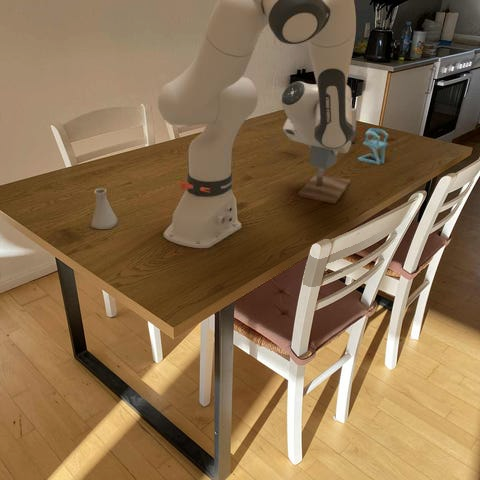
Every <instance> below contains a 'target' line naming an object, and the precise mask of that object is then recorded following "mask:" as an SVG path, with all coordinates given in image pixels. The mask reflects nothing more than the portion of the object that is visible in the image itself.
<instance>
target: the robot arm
mask: <svg viewBox="0 0 480 480" xmlns="http://www.w3.org/2000/svg"><path fill="white" fill-rule="evenodd" d="M356 13H357V12H356V5H355V0H216V3H215V5H214V7H213V9H212V12H211V14H210V17H209V20H208V23H207V25H206V29H205V32H204V35H203V39H202V42H201V44H200V47H199V50H198V53H197V54H196V56H195V58H194V60H193V61H192V62H191V64H190V65H189V66H188V67H187V68H186V69H185V70H184V71H183V72H182V73H181V74H180V75H178V76H177V77H176V78H175V79H173V80H171V81H169V82H168V83H166V84H164V85H163V86H162V88H161V89H160V91H159V94H158V99H157V106H158V111H159V113H160V115H161V117H162V118H163V120H164V121H165V122H166V123H168V124H169V125H172V126H179V127H180V126H181V127H192V126H193V127H194V126H201V125H206V126H205V127H204V129H203V130H202V132H201V133H200V134H199V135H197V136H196V137H195V138H193V140H192V141H191V142H190V145H189V146H188V170H189V171H188V173H187V177H186V180H185V181H181V183H180V189H181V190H185V191H184V193H183V194H182V197H181V198H180V201H179V202H178V204H177V206H176V208H175V210H173V211H174V212H173V214H172V222H171V224H169V226H168V227H167V228H166V229H165V230H164V232H163V238H165V239H166V240H167V241H170V242H171V243H174V244H177V245H180V246H184V247H188V248H193V249H208V248H212V247H213V246H215V244H218V243H219V242H221V241H223V240H224V239H225V238H227V237H229V236H230V235H233V234H234V233H236V232H237V231H239V230H240V229H242V223H241V222H240V221H239V220H238V210H237V209H238V208H237V199H236V197H235V195H234V193H233V190H232V188H233V183H234V182H233V181H234V179H233V173H232V171H231V170H232V169H231V168H232V167H231V166H232V153H233V145H234V141H235V140H236V139H235V138H236V137H237V134H238V132H239V130H240V129H241V127H242V126H243V124H244V123H245V121H246V120H247V119H248V118H249V117H250V116H251V115H252V114H253V113H254V111H255V110H256V108H257V105H258V101H259V100H258V96H259V95H258V90H257V88H256V85H255V84H254V82H253V80H251V79H250V78H248V77H245V76H244V75H245V73H246V71H247V68H248V66H249V64H250V61H251V59H252V55H253V53H254V50H255V49H256V46H257V43H258V41H259V37H260V34H261V33H262V31H263V30H264V29H265V28H266V26H267V25H268V26H269V28H270V30H271V32H272V33H273V35H274V36H275V37H276V38H277V40H279V41H280V42H281V43H282V44H286V45H297V44H298V45H299V44H302V43H306V46H307V51H308V54H309V59H310V62H311V65H312V70H313V74H314V78H315V82H316V83H315V84H312V83H306V82H304V81H300V80H299V81H295V82H292V83H290V84H289V85H287V86H286V88H285V90H284V91H283V93H282V95H281V105H282V109H283V111H284V113H285V115H286V116H287V118H286V121H285V122H284V124H283V127H282V131H283V132H284V133H285V134H286V136H287V137H288V139H289V140H291V141H293V142H296V143H301V144H305V145H307V146H308V147H309V148H310V149H311V145H313V146H317V147H321V148H325V149H329V150H331V153H332V154H334V155H337V156H338V153H340V154H341V153H342V154H346V153H348V152H349V150H350V148H351V146H352V142H351V141H350V140H351V138H352V137H353V135H354V133H353V126H352V109H353V104H352V103H353V102H352V101H353V100H352V99H353V98H352V97H353V96H352V88H351V87H350V85H348V84H347V83H348V79H349V78H348V77H349V72H350V68H351V61H352V57H353V52H354V46H355V42H356V32H357V15H356Z"/></svg>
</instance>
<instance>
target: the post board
mask: <svg viewBox="0 0 480 480" xmlns="http://www.w3.org/2000/svg"><path fill="white" fill-rule="evenodd" d="M324 173H325V168H322V167H318V166H317V172H316V173H315V174H314V175H313V176H312V177H311V178H310V179H309V180H308V182H307V183H306V184H304V186H303V187H302V188H301V189H300V190H299V191H298V193H297V197H301V198H305V199H310V200H315V201H320V202H323V203H324V202H326V203H330V204H337V202H338V200H339V199H340V198H341V196H342V195H343V194H344V192H345V191H346V190H347V188H348V187H349V186H350V184H351V179H346V178H340V177H335V176H330V175H329V176H328V175H324Z"/></svg>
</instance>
